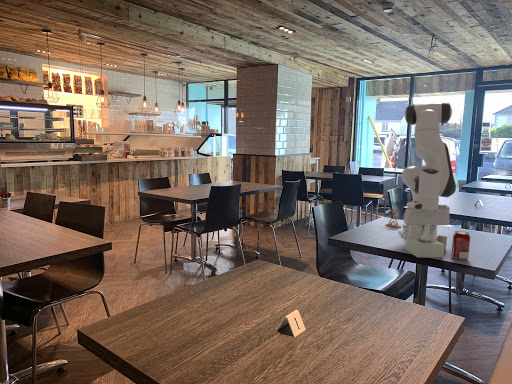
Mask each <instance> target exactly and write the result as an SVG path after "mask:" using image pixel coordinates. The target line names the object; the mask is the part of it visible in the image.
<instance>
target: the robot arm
mask: <svg viewBox="0 0 512 384" xmlns="http://www.w3.org/2000/svg"><path fill="white" fill-rule="evenodd" d="M403 114H404V115H403V116H404V119H405V121H406V123H407V124H408V125H412V126H415V127H414V141H415V142H414V143H415V154H416V156H417V157H418V158H420V159H421V160H423V161H424V164H425V165H411V166H406V167H405V168H404V169H403V170H402V173H401V181H402V182H403V184H404V185H406V186H407V187H408V189H409V190H410V192H411V195H412V200H411V201H409V202H407V203H406V207H407V208H405V210H404V214H403V224H402V229H400V230H399V229H398V230H399V231H398V233H399V234H400V235H401V236H402V237H403V239H407V238H420V237H421V235H422V231H421V226H422V225H426V223H431V233H430V238H432V239H434V240H436V241H437V240H438V236H439V235H438V233H437V232H438V226H449V224H450V206H448V205H447V204H439V203H440V202H439V201H440V198H449V197H451V196H453V195H454V193H456V189H457V183H456V180H455V177H454V173H453V167H452V160H451V156H450V151H449V148H448V147H449V146H448V145H447V143H446V142H444V141H443V140H442V138H441V135H440V125H441V127H443V126H444V124H447V123H448V122H449V121H450V119H451V118H452V115H453V108H452V106H451V104H450V102H448V101H441V102H439V101H430V102H429V101H428V102H422V103H416V104H414V103H412V104H408V105H407V106H406V108H405V110H404V113H403Z"/></svg>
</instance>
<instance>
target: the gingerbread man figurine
mask: <svg viewBox="0 0 512 384" xmlns="http://www.w3.org/2000/svg"><path fill="white" fill-rule="evenodd" d="M388 214H389V215H390V217H391V218H390V220H389V222H388V223H386V224H385V227H389V228H394V229H398V230H399V229H401V228H402V226H401V225H399V224H398V220H401V216H400V214H399V213H398V208H397V207H395V206H394V207H392V208H391V209H389V210H388Z"/></svg>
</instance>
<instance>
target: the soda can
mask: <svg viewBox="0 0 512 384" xmlns="http://www.w3.org/2000/svg"><path fill="white" fill-rule="evenodd" d="M470 242H471V236H470V232H468V231H465V230H455V232H454V234H453V236H452V243H451V244H452V245H451V254H450V255H451V257H452V258H453V259H455V260H459V261H465V260H467V259H469V253H470V245H471V244H470Z"/></svg>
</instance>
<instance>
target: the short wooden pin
mask: <svg viewBox="0 0 512 384" xmlns="http://www.w3.org/2000/svg"><path fill="white" fill-rule="evenodd" d="M437 236H438V239H436V241H438V242H440V243H442V244H444V253H446V251H447V242H448V236H447V235H437Z"/></svg>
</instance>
